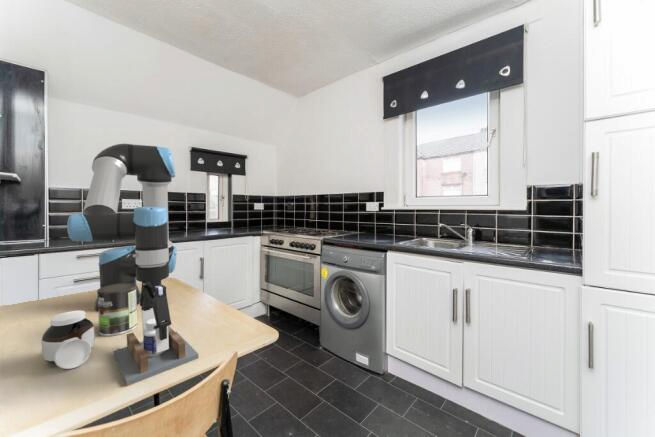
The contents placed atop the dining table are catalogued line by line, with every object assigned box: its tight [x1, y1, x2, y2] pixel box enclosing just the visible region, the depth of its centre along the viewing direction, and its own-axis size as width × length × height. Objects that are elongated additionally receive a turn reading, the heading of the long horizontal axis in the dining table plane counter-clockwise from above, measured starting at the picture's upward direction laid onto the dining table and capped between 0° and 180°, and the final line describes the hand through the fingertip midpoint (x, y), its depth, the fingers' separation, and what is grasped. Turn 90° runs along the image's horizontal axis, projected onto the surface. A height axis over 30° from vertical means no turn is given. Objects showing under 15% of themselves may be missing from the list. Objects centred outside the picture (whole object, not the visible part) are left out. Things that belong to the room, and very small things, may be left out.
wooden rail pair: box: [126, 325, 185, 373], centre depth 75 cm, size 16×10×4 cm, turn 46°
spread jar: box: [41, 310, 95, 370], centre depth 73 cm, size 12×11×12 cm
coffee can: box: [96, 283, 138, 337], centre depth 91 cm, size 10×10×14 cm
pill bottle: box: [142, 317, 166, 357], centre depth 75 cm, size 5×5×9 cm
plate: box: [112, 331, 199, 387], centre depth 75 cm, size 18×16×1 cm
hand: (155, 341), depth 75 cm, fingers open, 13 cm apart
